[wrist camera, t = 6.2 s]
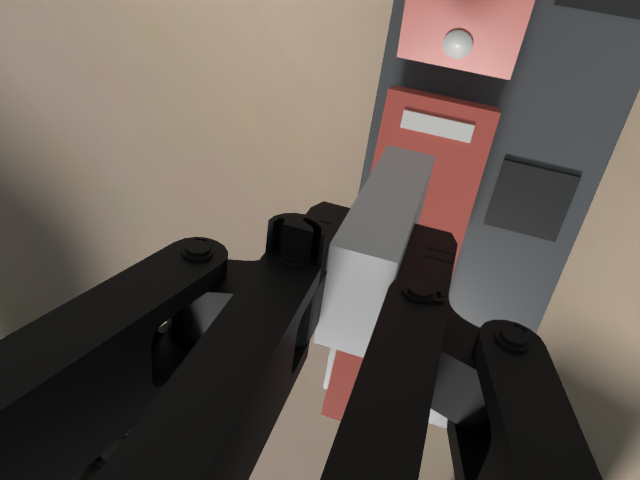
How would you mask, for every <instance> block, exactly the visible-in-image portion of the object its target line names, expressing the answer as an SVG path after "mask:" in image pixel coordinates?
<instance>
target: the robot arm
mask: <svg viewBox="0 0 640 480" xmlns="http://www.w3.org/2000/svg"><path fill="white" fill-rule="evenodd" d="M435 157H436V156H434V155H430V154H425V153H421V152H417V151H412V150H408V149H404V148H399V147H395V146H391V145H387V147H386V148H385V150H384V152H383V154H382V155H381V157H380V159H379V161H378V162H377V164H376V166H375V167H374V169H373V171H372V173H371V174H370V176H369V178H368V179H367V181H366V183H365V185H364V186H363V188H362V190H361V191H360V193H359V195H358V197H357V198H356V200H355V202H354V203H353V205H352V207H351V208H347V207H343V206H340V205H336V204H332V203H328V202H321V203H319V204H317V205H315V206H313V207H311V208H310V209H309V211H308V212H307V213H306V215H305V214H298V213H284V214H280V215H276V216H274V217H272V218H271V219H270V220H269V221H268V232H267V242H266V252H265V253H264V255H263V256H262V257H261V259H260V260H256V261H242V260H229V259H228V251H227V249H226V248H225V246H224V245H222V244H221V243H219V242H218V241H215V240H212V239H209V238H204V237H202V238H201V237H192V238H184V239H181V240H179V241H176V242H174V243H172V244H170V245H168V246H167V247H165V248H163V249H161V250H160V251H158V252H156V253H154V254H152V255H151V256H149V257H147V258H145V259H144V260H142V261H140V262H138V263H136V264H135V265H133V266H131V267H129V268H127V269H126V270H124V271H122V272H120V273H119V274H117V275H115V276H113V277H111V278H110V279H108V280H106V281H104V282H102V283H101V284H99V285H97V286H95V287H94V288H92V289H90V290H88V291H86V292H85V293H83V294H81V295H79V296H78V297H76V298H74V299H72V300H70V301H69V302H67V303H65V304H63V305H61V306H60V307H58V308H56V309H54V310H53V311H51V312H49V313H47V314H45V315H44V316H42V317H40V318H38V319H36V320H35V321H33V322H31V323H29V324H28V325H26V326H24V327H22V328H20V329H19V330H17V331H15V332H13V333H11V334H10V335H8V336H6V337H4V338H3V339H1V340H0V480H249V477H250V475H251V473H252V471H253V469H254V467H255V465H256V463H257V461H258V459H259V456H260V454H261V452H262V450H263V448H264V446H265V444H266V442H267V440H268V438H269V436H270V433H271V431H272V429H273V427H274V425H275V423H276V421H277V419H278V417H279V415H280V413H281V410H282V408H283V406H284V404H285V402H286V400H287V398H288V396H289V394H290V392H291V389H292V387H293V385H294V383H295V381H296V379H297V377H298V375H299V373H300V371H301V369H302V366H303V364H304V362H305V360H306V358H307V355H308V348H309V342H310V339H311V337H312V335H313V333H314V331H315V336H314V342H313V343H316V344H320V345H323V346H326V347H329V348H333V349H336V350H339V351H343V352H346V353H349V354H352V355H356V356H359V357H362V358H363V361H362V363H361V366H360V369H359V372H358V375H357V378H356V380H355V383H354V386H353V389H352V392H351V394H350V397H349V400H348V403H347V406H346V408H345V411H344V414H343V417H342V420H341V423H340V425H339V428H338V431H337V434H336V437H335V439H334V442H333V445H332V448H331V451H330V453H329V456H328V459H327V462H326V465H325V468H324V470H323V473H322V476H321V479H320V480H418V478H419V472H420V466H421V461H422V455H423V450H424V444H425V438H426V433H427V427H428V422H429V416H430V410H431V409H432V410H434V411H436V412H437V413H439V414H441V415H442V416H444V417H446V418H447V433H448V439H449V444H450V450H451V456H452V462H453V468H454V474H455V480H602V477H601V475H600V473H599V470H598V468H597V465H596V463H595V461H594V458H593V456H592V454H591V451H590V449H589V447H588V444H587V442H586V440H585V437H584V435H583V433H582V430H581V428H580V425H579V423H578V421H577V418H576V416H575V414H574V411H573V409H572V407H571V404H570V402H569V400H568V397H567V395H566V392H565V390H564V388H563V385H562V383H561V381H560V378H559V376H558V374H557V371H556V369H555V367H554V364H553V362H552V360H551V357H550V355H549V352H548V350H547V348H546V345H545V344H544V342H543V341H542V340H541V338H540V337H539V336H538V335H537V334H536V333H534V332H533V331H532V330H531V329H529V328H527V327H525V326H523V325H521V324H519V323H516V322H512V321H508V320H490V321H487V322H485V323H484V324H483V325H482V326H481V327H478V326H476V325H474V324H472V323H470V322H468V321H467V320H465V319H463V318H462V317H461V316H460V315H458V314H457V313H456V312H455V311H454V309H453V308H452V307H451V305H450V301H449V290H450V285H451V279H452V274H453V268H454V262H455V256H456V251H457V246H458V243H457V242H456V240H455V238H454V236H453V234H452V233H451V232H447V231H443V230H439V229H435V228H431V227H427V226H423V225H419V220H420V216H421V212H422V208H423V204H424V200H425V196H426V192H427V188H428V184H429V180H430V176H431V172H432V169H433V165H434V161H435ZM165 321H167V323H166V324H164V325H163V326H161V325H162V324H163V323H164V322H165ZM160 326H161V327H160ZM159 327H160V328H159ZM315 329H316V330H315ZM130 429H131V430H130ZM129 430H130V432H129V433H128V434H127V435H126V437H125V438H124V437H123V435H125V434H126V433H127V432H128V431H129Z"/></svg>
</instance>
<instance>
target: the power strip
mask: <svg viewBox="0 0 640 480" xmlns="http://www.w3.org/2000/svg"><path fill="white" fill-rule="evenodd" d="M404 6H405V0H394V3H393V8H392V14H391V19H390V25H389V30H388V36H387V41H386V47H385V52H384V58H383V63H382V68H381V74H380V79H379V85H378V90H377V96H376V101H375V107H374V112H373V118H372V123H371V129H370V134H369V140H368V145H367V150H366V156H365V161H364V167H363V172H362V178H361V183H360V189H359V193H360V191H361V190H362V188H363V186H364V185H365V183H366V181H367V179H368V178H369V176H370V173H371V168H372V163H373V158H374V154H375V149H376V144H377V139H378V135H379V130H380V125H381V120H382V115H383V111H384V106H385V101H386V96H387V92H388V88H390V87H391V86H392V85H397V86H402V87H406V88H411V89H416V90H420V91H425V92H429V93H434V94H439V95H443V96H448V97H453V98H457V99H462V100H467V101H471V102H476V103H481V104H485V105H490V106H495V107H499V108H501V114H500V118H499V121H498V125H497V128H496V131H495V135H494V138H493V141H492V145H491V148H490V151H489V155H488V158H487V162H486V165H485V168H484V172H483V175H482V178H481V182H480V185H479V188H478V192H477V195H476V198H475V202H474V205H473V209H472V212H471V215H470V219H469V222H468V225H467V229H466V232H465V235H464V239H463V242H462V245H461V249H460V252H459V256H458V259H457V262H456V266H455V269H454V272H453V276H452V279H451V285H450V290H449V301H450V305H451V307H452V308H453V309H454V311H455V312H456V313H457V314H458V315H460V316H461V317H462V318H463V319H465V320H467V321H468V322H470V323H472V324H474V325H476V326H478V327H481V326H482V325H483V324H484V323H485V322H487V321H490V320H508V321H512V322H516V323H519V324H521V325H523V326H525V327H527V328H529V329H531V330H532V331H533V332H534V333H536V332H537V329H538V327H539V325H540V322H541V320H542V318H543V315H544V313H545V310H546V308H547V306H548V303H549V301H550V299H551V296H552V294H553V292H554V289H555V287H556V285H557V282H558V280H559V278H560V275H561V273H562V270H563V268H564V266H565V263H566V261H567V259H568V256H569V254H570V252H571V249H572V247H573V245H574V242H575V240H576V237H577V235H578V233H579V230H580V228H581V226H582V223H583V221H584V219H585V216H586V214H587V212H588V209H589V207H590V205H591V202H592V200H593V197H594V195H595V193H596V190H597V188H598V186H599V183H600V181H601V179H602V176H603V174H604V172H605V169H606V167H607V164H608V162H609V160H610V157H611V155H612V153H613V150H614V148H615V146H616V143H617V141H618V139H619V136H620V134H621V132H622V129H623V127H624V124H625V122H626V120H627V117H628V115H629V113H630V110H631V108H632V106H633V103H634V101H635V99H636V96H637V94H638V91H639V89H640V0H535V3H534V6H533V9H532V12H531V16H530V19H529V22H528V25H527V28H526V31H525V35H524V38H523V41H522V44H521V47H520V50H519V54H518V57H517V60H516V63H515V66H514V69H513V73H512V76H511V79H510V80H506V79H501V78H497V77H492V76H487V75H482V74H477V73H472V72H467V71H462V70H458V69H453V68H448V67H443V66H438V65H433V64H428V63H424V62H419V61H414V60H409V59H404V58H399V57H397V51H398V45H399V38H400V32H401V25H402V19H403V12H404ZM358 195H359V194H358ZM335 354H336V349H333V348H330V353H329V358H328V364H327V369H326V375H325V380H324V386H323V388H325V389H327V388H328V384H329V380H330V375H331V371H332V367H333V363H334V358H335ZM428 423H431V424H434V425H437V426H440V427H443V428H446V429H447V418H446V417H444V416H442V415H441V414H439V413H437V412H436V411H434V410H432V409H431V410H430V416H429V422H428Z"/></svg>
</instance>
